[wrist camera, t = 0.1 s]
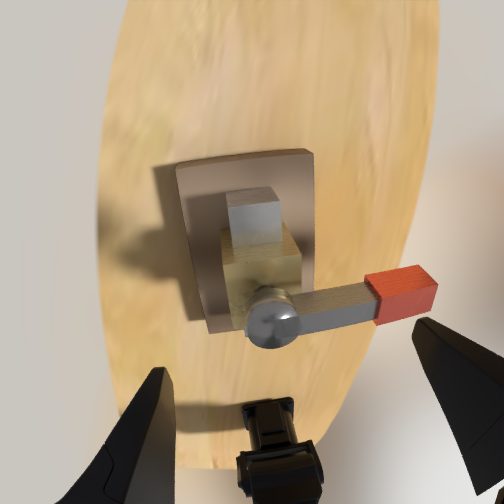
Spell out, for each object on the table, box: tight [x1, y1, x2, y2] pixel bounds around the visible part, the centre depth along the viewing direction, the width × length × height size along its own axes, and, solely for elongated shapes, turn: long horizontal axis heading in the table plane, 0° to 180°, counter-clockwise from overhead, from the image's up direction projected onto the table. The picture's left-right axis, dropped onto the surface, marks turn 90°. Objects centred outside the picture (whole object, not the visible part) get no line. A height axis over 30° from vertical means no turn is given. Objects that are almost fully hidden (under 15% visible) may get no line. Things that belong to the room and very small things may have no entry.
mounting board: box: [175, 149, 315, 334], centre depth 23 cm, size 14×9×2 cm, turn 5°
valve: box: [220, 186, 302, 337], centre depth 20 cm, size 10×4×6 cm, turn 5°
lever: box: [244, 265, 438, 349], centre depth 16 cm, size 11×3×2 cm, turn 95°
